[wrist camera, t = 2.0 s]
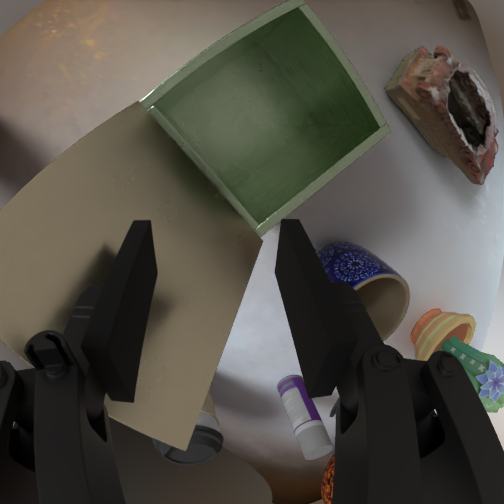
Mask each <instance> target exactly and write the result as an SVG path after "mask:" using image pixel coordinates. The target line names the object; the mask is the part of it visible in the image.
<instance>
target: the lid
mask: <svg viewBox="0 0 504 504" xmlns="http://www.w3.org/2000/svg"><path fill="white" fill-rule="evenodd" d="M133 220H151V225H152V233H153V241H154V249H155V256H156V263H157V270H158V276H157V280H156V285H155V289H154V293H153V298H152V303H151V307H150V312H149V317H148V322H147V327H146V332H145V337H144V343H143V348H142V354H141V359H140V365H139V372H138V378H137V384H136V391H135V398H134V403H128V402H118V401H111V399H110V398H109V396H108V395H107V393H106V394H105V399H104V404H105V406H106V408H107V411H108V416H109V417H111V418H113V419H115V420H117V421H119V422H120V423H122V424H124V425H127V426H129V427H130V428H133V429H135V430H137V431H139V432H141V433H143V434H145V435H148V436H150V437H152V438H154V439H156V440H159V441H161V442H163V443H166V444H168V445H171V446H173V447H176V448H178V449H181V450H184V451H186V450H187V447H188V444H189V442H190V439H191V436H192V434H193V431H194V428H195V426H196V423H197V420H198V418H199V415H200V412H201V410H202V407H203V404H204V402H205V399H206V396H207V394H208V391H209V388H210V385H211V383H212V380H213V377H214V375H215V372H216V369H217V366H218V364H219V361H220V358H221V356H222V353H223V350H224V347H225V345H226V342H227V339H228V337H229V334H230V331H231V328H232V326H233V323H234V320H235V317H236V315H237V312H238V309H239V306H240V304H241V301H242V298H243V295H244V293H245V290H246V287H247V284H248V282H249V279H250V276H251V273H252V271H253V268H254V265H255V262H256V260H257V257H258V254H259V251H260V248H261V246H262V243H263V240H262V239H261V238H260V237H259V236H258V234H257V233H256V232H255V231H254V230H253V229H252V228H251V226H250V225H249V224H248V223H247V222H246V221H245V220H244V218H243V217H242V216H241V215H240V214H239V213H238V212H237V210H236V209H235V208H234V207H233V206H232V205H231V204H230V202H229V201H228V200H227V199H226V198H225V197H224V196H223V195H222V193H221V192H220V191H219V190H218V189H217V188H216V187H215V185H214V184H213V183H212V182H211V181H210V180H209V179H208V178H207V176H206V175H205V174H204V173H203V172H202V171H201V170H200V169H199V167H198V166H197V165H196V164H195V163H194V162H193V161H192V160H191V159H190V157H189V156H188V155H187V154H186V153H185V152H184V151H183V150H182V148H181V147H180V146H179V145H178V144H177V143H176V142H175V141H174V140H173V138H172V137H171V136H170V135H169V134H168V133H167V132H166V131H165V130H164V129H163V127H162V126H161V125H160V124H159V123H158V122H157V121H156V120H155V119H154V117H153V116H152V115H151V114H150V113H149V112H148V111H147V110H146V109H145V108H144V107H143V105H142V104H141V103H140V102H139V101H137V102H135V103H134V104H132V105H130V106H129V107H127V108H125V109H124V110H122V111H121V112H119V113H118V114H116V115H114V116H113V117H111V118H110V119H108V120H107V121H105V122H104V123H102V124H101V125H100V126H98V127H97V128H95V129H94V130H92V131H91V132H90V133H88V134H87V135H86V136H84V137H83V138H81V139H80V140H79V141H77V142H76V143H75V144H73V145H72V146H71V147H70V148H68V149H67V150H66V151H64V152H63V153H62V154H61V155H60V156H58V157H57V158H56V159H55V160H53V161H52V162H51V163H50V164H49V165H47V166H46V167H45V168H44V169H43V170H42V171H41V172H39V173H38V174H37V175H36V176H35V177H34V178H33V179H32V180H30V181H29V182H28V183H27V184H26V185H25V186H24V187H23V188H22V189H21V190H20V191H19V192H18V193H17V194H16V195H15V196H14V197H13V198H12V199H11V200H10V201H9V202H8V203H7V204H6V205H5V206H4V207H3V208H2V209H1V210H0V341H1V342H2V343H3V344H4V345H5V346H7V347H8V348H9V349H10V350H11V351H12V352H14V353H15V354H16V355H17V356H18V357H20V358H21V359H22V360H23V361H25V362H26V363H27V364H29V365H30V366H31V367H32V368H34V366H33V365H32V364H31V362H30V361H29V359H28V358H27V356H26V355H25V353H24V352H23V351H24V348H25V345H26V343H27V342H28V341H29V340H30V338H31V337H32V336H34V335H35V334H37V333H38V332H42V331H45V330H55V331H57V332H59V333H61V334H63V332H64V330H65V327H66V325H67V322H68V320H69V318H71V313H72V311H73V309H74V308H75V304H76V302H77V300H78V298H79V296H80V294H81V293H82V292H83V291H84V290H85V289H86V288H87V287H88V286H103V285H104V283H105V280H106V278H107V276H108V273H109V271H110V269H111V267H112V264H113V262H114V260H115V258H116V256H117V253H118V251H119V249H120V247H121V245H122V243H123V241H124V239H125V236H126V234H127V232H128V230H129V228H130V226H131V224H132V222H133Z"/></svg>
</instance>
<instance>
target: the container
mask: <svg viewBox="0 0 504 504" xmlns="http://www.w3.org/2000/svg"><path fill="white" fill-rule="evenodd" d="M277 388H278V391H279V394H280V396H281V399H282V402H283V404H284V407H285V410H286V412H287V415H288V418H289V420H290V423H291V426H292V428H293V431H294V433H295V436H296V438H297V440H298V443H299V445H300V447H301V450H302V452H303V454H304V457H305V459H308V460H312V459H317V458H320V457H322V456H324V455H326V454H328V453H329V452H330V451H332V449H333V445H332V443H331V440H330V438H329V436H328V433H327V431H326V429H325V426H324V424H323V422H322V420H321V418H320V415H319V413H318V411H317V409H316V407H315V405H314V403H313V401H312V398H308V395H307V391H306V387H305V383H304V381H303V379H302V378H301V377H300V376H298V375H291V376H287V377H285V378H283V379H282V380H281V381H280V382H279V383H278V385H277Z"/></svg>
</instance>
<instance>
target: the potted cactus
mask: <svg viewBox="0 0 504 504" xmlns="http://www.w3.org/2000/svg"><path fill="white" fill-rule="evenodd" d="M475 327H476V322H475V320H474V318H473V316H471V315H469V314H462V315H461V314H457V313H454V312H441V310H440V309H432V310H431V311H429V312H427V313H426V314H424V315H423V317H422V318H421V319H420V320H419V321H418V322H417V323H416V325H415V327H414V329H413V331H412V333H411V341H412V342H413V343H414V344H415V356H416V359H417V360H422V361H427V360H428V359H429V358H430V356H431V355H432V353H434V352H436V351H447V352H450V353H452V354H453V355H454V356H456V357H457V358H458V360H459V361H460V362H461V364H462V365H463V367H464V369H465V371H466V373H467V375H468V376H469V378H470V380H471V382H472V384H473V386H474V388H475V390H476V392H477V394H478V396H479V398H480V400H481V402H482V404H483V406H484V408H485V410H486V412H494V413H496V412H498V409H499V408H500V407H501V408H502V407H503V406H504V364H503V363H502V362H501V361H500V360H499V359H497V358H496V357H495V356H494V355H490V354H486V353H483V352H480V351H478V350H476V349H474V348H473V347H471V346H469V343H470V341H471V340H472V338H473V335H474V331H475Z"/></svg>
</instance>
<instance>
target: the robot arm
mask: <svg viewBox="0 0 504 504" xmlns="http://www.w3.org/2000/svg"><path fill="white" fill-rule="evenodd" d="M275 275H276V278H277V282H278V286H279V289H280V293H281V297H282V300H283V304H284V308H285V311H286V315H287V319H288V322H289V326H290V330H291V334H292V337H293V341H294V345H295V349H296V352H297V356H298V360H299V364H300V368H301V372H302V375H303V379H304V383H305V387H306V391H307V395H308V398H315V397H322V396H329V395H332V393H333V391H334V389H335V387H337V390H338V393H339V396H340V397H339V399H338V400H337V402H336V404H335V405H334V407H333V409H332V410H331V413H330V417H333V416H334V414H335V413H336V436H335V461H334V478H333V492H332V504H504V451H503V449H502V446H501V443H500V441H499V439H498V436H497V434H496V432H495V430H494V427H493V425H492V423H491V420H490V418H489V416H488V414H487V412H486V410H485V408H484V406H483V404H482V402H481V400H480V398H479V396H478V394H477V392H476V390H475V388H474V386H473V384H472V382H471V380H470V378H469V376H468V375H467V373H466V371H465V369H464V367H463V365H462V364H461V362H460V361H459V360H458V358H457V357H456V356H454V355H453V354H452V353H450V352H447V351H436V352H434V353H432V355H431V356H430V358H429V359H428V360H427V361H422V360H412V359H405V358H403V356H402V355H401V354H400V353H399V352H398V351H397V350H396V349H395V348H393V347H391V346H389V345H385V344H384V343H383V341H382V339H381V337H380V335H379V333H378V331H377V329H376V327H375V325H374V323H373V321H372V320H371V318H370V316H369V314H368V312H366V308H365V306H364V305H363V303H362V301H361V299H360V297H359V295H358V294H357V292H356V290H355V289H354V288H352V287H351V286H350V285H349V284H348V283H347V282H330V280H329V278H328V276H327V273H326V271H325V269H324V267H323V265H322V263H321V261H320V259H319V257H318V255H317V253H316V251H315V249H314V247H313V245H312V243H311V242H310V240H309V238H308V236H307V234H306V232H305V230H304V228H303V226H302V224H301V222H300V220H299V219H281V226H280V234H279V242H278V251H277V259H276V267H275ZM157 276H158V270H157V263H156V256H155V249H154V241H153V233H152V225H151V220H133V222H132V224H131V226H130V228H129V230H128V232H127V234H126V236H125V239H124V241H123V243H122V245H121V247H120V249H119V251H118V253H117V256H116V258H115V260H114V262H113V264H112V267H111V269H110V271H109V273H108V276H107V278H106V280H105V283H104V285H103V286H88V287H87V288H86V289H85V290H84V291H83V292H82V293H81V294H80V296H79V298H78V300H77V302H76V304H75V308H74V309H73V311H72V313H71V318H69V320H68V322H67V325H66V327H65V330H64V332H63V334H61V333H59V332H57V331H55V330H45V331H42V332H38V333H37V334H35V335H34V336H32V337H31V338H30V340H29V341H28V342H27V343H26V345H25V348H24V351H23V352H24V353H25V355H26V356H27V358H28V359H29V361H30V362H31V364H32V365H33V366H34V368H32V369H25V370H19V371H16V370H15V369H14V368H13V366H12V365H11V363H9V362H6V361H0V504H126V503H125V499H124V495H123V491H122V487H121V483H120V479H119V474H118V470H117V465H116V460H115V455H114V450H113V443H112V438H111V431H110V425H109V417H108V411H107V408H106V406H105V404H104V399H105V394H106V393H107V395H108V396H109V398H110V399H111V401H118V402H128V403H134V398H135V391H136V384H137V378H138V372H139V365H140V359H141V354H142V348H143V343H144V337H145V332H146V327H147V322H148V317H149V312H150V307H151V303H152V298H153V293H154V289H155V285H156V280H157ZM434 409H435V410H436V412H437V414H438V415H437V414H436V413H435V411H434ZM14 422H15V424H14V426H13V423H14Z"/></svg>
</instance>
